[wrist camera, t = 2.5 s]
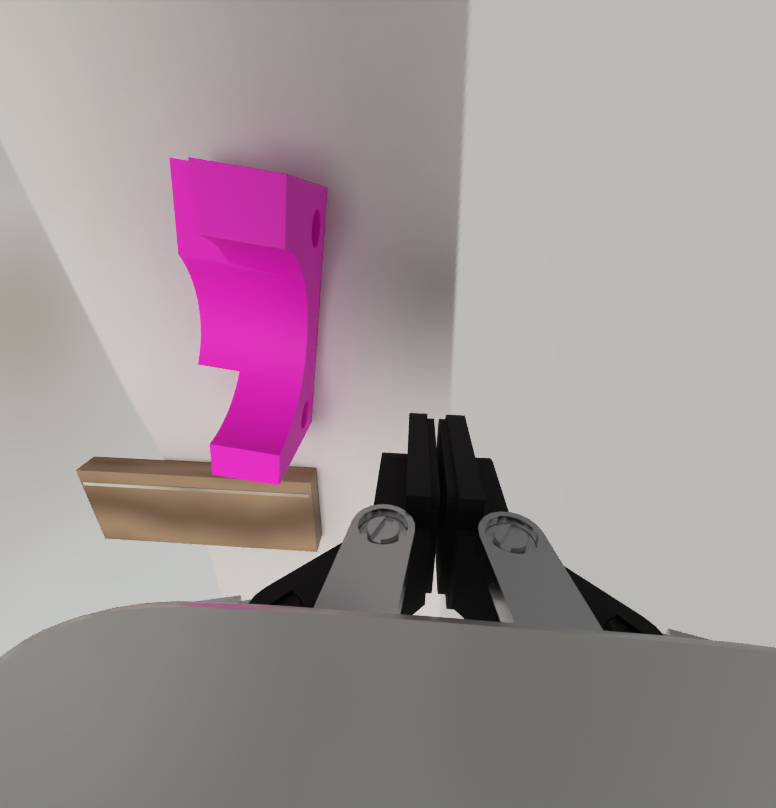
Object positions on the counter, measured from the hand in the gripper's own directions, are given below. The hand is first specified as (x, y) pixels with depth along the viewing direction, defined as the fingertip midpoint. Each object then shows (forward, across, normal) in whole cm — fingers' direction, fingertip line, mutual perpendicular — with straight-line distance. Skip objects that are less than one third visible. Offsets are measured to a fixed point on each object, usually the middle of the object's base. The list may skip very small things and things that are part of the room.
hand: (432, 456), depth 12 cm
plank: (+14, +17, +14) cm, 26 cm away
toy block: (+14, +10, -1) cm, 17 cm away
